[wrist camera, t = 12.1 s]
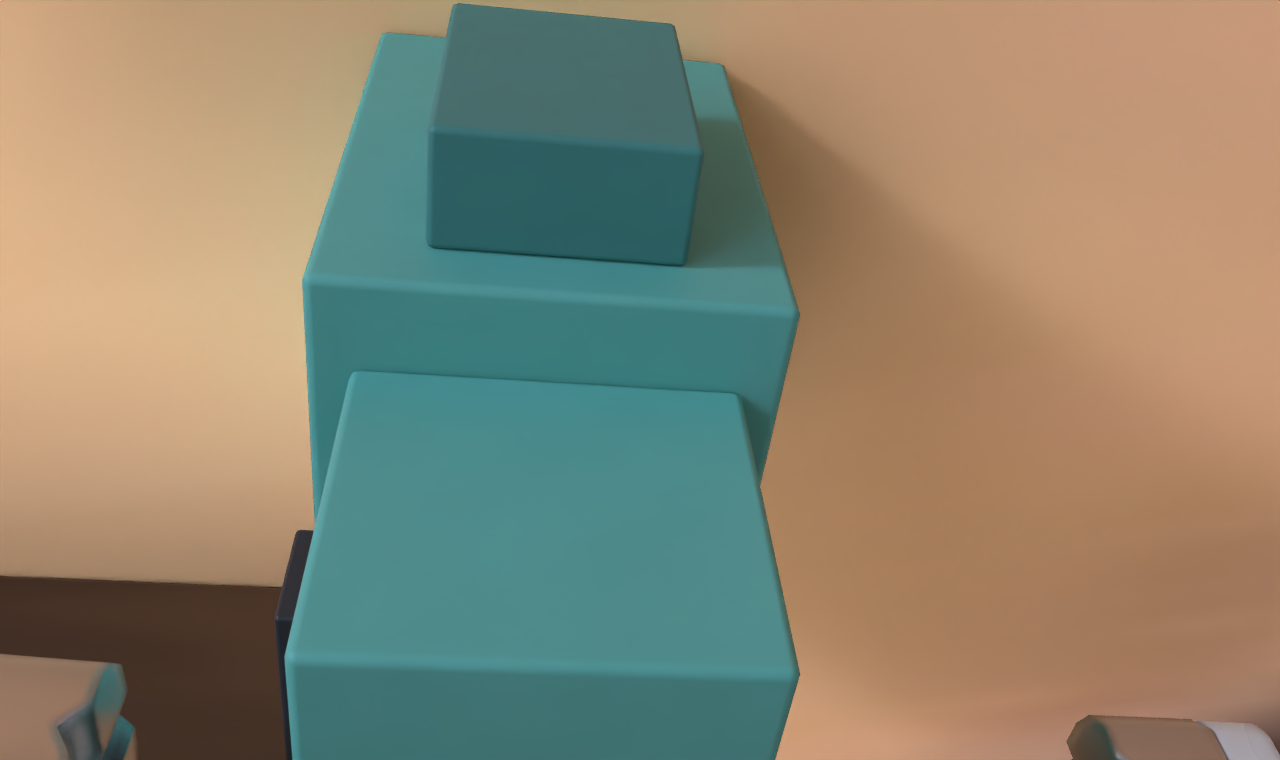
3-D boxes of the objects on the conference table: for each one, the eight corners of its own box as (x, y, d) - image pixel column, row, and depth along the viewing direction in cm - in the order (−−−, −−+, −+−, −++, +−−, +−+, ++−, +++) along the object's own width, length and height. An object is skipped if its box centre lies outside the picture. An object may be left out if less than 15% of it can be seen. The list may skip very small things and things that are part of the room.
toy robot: (741, -32, 15) (937, 449, 7) (655, 482, 20) (721, 1091, 12) (381, -69, 14) (188, 406, 7) (383, 468, 19) (273, 1094, 12)
